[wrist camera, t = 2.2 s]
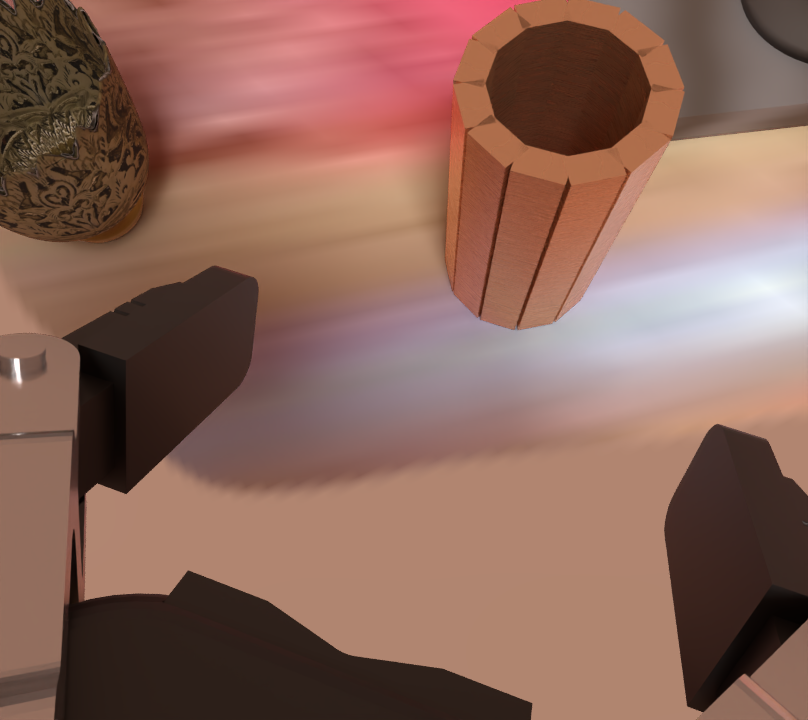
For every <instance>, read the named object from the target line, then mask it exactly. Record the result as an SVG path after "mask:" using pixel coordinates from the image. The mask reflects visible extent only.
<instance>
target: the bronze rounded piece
mask: <svg viewBox="0 0 808 720" xmlns="http://www.w3.org/2000/svg"><path fill="white" fill-rule="evenodd" d="M13 3H14V9H15V10H14V9H13V8H12V7H11V6H10V5H9V4H8V3H6V2H5V1H4V0H0V226H2V227H4V228H6V229H8V230H10V231H13V232H15V233H18V234H21V235H24V236H27V237H29V238H33V239H38V240H44V241H51V242H69V241H78V240H81V241H86V242H92V243H103V242H108V241H112V240H115V239H117V238H119V237H121V236H123V235H124V234H126V233H127V232H128V231H130V230H131V229H132V228H133V227H134V225H135V224H136V223H137V221H138V219H139V218H140V215H141V213H142V210H143V202H144V198H143V190H144V187H145V184H146V181H147V176H148V170H149V152H148V146H147V141H146V137H145V133H144V130H143V127H142V124H141V121H140V118H139V116H138V113H137V111H136V108H135V106H134V104H133V101H132V99H131V97H130V95H129V92H128V90H127V88H126V86H125V84H124V82H123V79H122V77H121V75H120V73H119V71H118V69H117V67H116V65H115V62H114V60H113V58H112V56H111V54H110V52H109V50H108V48H107V46H106V43H105V42H104V41H103V40H102V39H101V38H100V36H99V34H98V32H97V29H96V28H95V26H94V25H93V23H92V21H91V20H90V18H89V16H88V14H87V13H86V11H85V10H84V9H83V8H82V7H79V8H78V9H76V8H75V7H74V5H73V4H72V3H71V2H70V1H69V0H39V1H37V0H13Z"/></svg>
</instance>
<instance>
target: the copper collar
mask: <svg viewBox="0 0 808 720" xmlns="http://www.w3.org/2000/svg"><path fill="white" fill-rule="evenodd" d="M619 12H620V8H619V7H615V6H611V5H606V4H602V3H597V2H593V1H589V0H568V3H567V1H566V0H541V1H535V2H530V3H525V4H519V5H515V6H514V10H513V9H512V8H508V9H507V10H506V11H504V12H503V13H502V14H500V15H499V16H498V17H496V18H495V19H494V20H492V21H491V22H490V23H488V24H487V25H486V26H484V27H483V28H482V29H480V30H479V31H478V32H476V33H475V34H474V35H472V40H471V39H469V41H468V44H467V47H466V49H465V52H464V54H463V57H462V59H461V62H460V65H459V67H458V70H457V72H456V75H455V77H454V80H453V100H452V122H451V144H450V165H449V187H448V209H447V231H446V253H445V262H446V266H447V271H448V275H449V279H450V283H451V288H452V291H454V295H455V296H456V297H457V298H458V299H459V300H460V301H461V302H462V303H463V304H464V305H465V306H466V307H467V308H468V309H469V310H470V311H471V312H472V313H473V314H474V315H475V316H476V317H477V318H478V317H479V316H480V315H481V319H480V320H483V321H486V322H489V323H493V324H496V325H499V326H503V327H506V328H509V329H512V330H514V329H515V326H516V325H517V329H518V330H521V329H527V328H532V327H537V326H542V325H547V324H552V323H553V321H555V322H556V321H557V320H558V319H559V318H560V317H562V316H563V315H564V314H565V313H566V312H567V311H569V310H570V309H571V308H572V307H573V306H574V305H575V304H577V303H578V302H579V301H580V300H581V298H582V297H583V295H584V293H585V291H586V290H587V288H588V286H589V284H590V283H591V281H592V279H593V277H594V275H595V274H596V272H597V270H598V268H599V267H600V265H601V263H602V261H603V259H604V258H605V256H606V254H607V252H608V251H609V249H610V247H611V245H612V243H613V242H614V240H615V238H616V236H617V235H618V233H619V231H620V229H621V228H622V226H623V224H624V222H625V220H626V219H627V217H628V215H629V213H630V212H631V210H632V208H633V206H634V204H635V203H636V201H637V199H638V197H639V196H640V194H641V192H642V190H643V188H644V187H645V185H646V183H647V181H648V180H649V178H650V176H651V174H652V172H653V171H654V169H655V167H656V165H657V164H658V162H659V160H660V158H661V157H662V155H663V153H664V151H665V149H666V148H667V146H668V144H669V142H670V141H671V139H672V137H673V135H674V131H675V127H676V123H677V119H678V116H679V112H680V108H681V104H682V100H683V97H684V93H685V92H684V91H683V89H684V85H683V82H682V80H681V77H680V75H679V72H678V70H677V67H676V64H675V62H674V59H673V57H672V54H671V52H670V49H669V47H668V44H666V45H663V43H664V41H665V40H663V39H662V38H661V37H659V36H658V35H657V34H656V33H654V32H653V31H652V30H650V29H649V28H648V27H647V26H645V25H644V24H643V23H641V22H640V21H639V20H638V19H636V18H635V17H634V16H632V15H631V14H630V13H629V12H627V11H626V10H625V11H623V12H622V13H621V14H620V15H619Z"/></svg>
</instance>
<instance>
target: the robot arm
mask: <svg viewBox="0 0 808 720" xmlns="http://www.w3.org/2000/svg"><path fill="white" fill-rule="evenodd" d="M257 302H258V283H257V280H256V279H255V278H254V277H251V276H247V275H244V274H241V273H238V272H235V271H231V270H228V269H225V268H222V267H219V266H212V267H210V268H208V269H206V270H205V271H203V272H201V273H200V274H198V275H196V276H194V277H193V278H191V279H189V280H187V281H186V282H184V283H181V282H178V283H174V284H169V285H165V286H160V287H156V288H152V289H150V290H148V291H146V292H144V293H143V294H141V295H139V296H137V297H135V298H134V299H132V300H131V303H130V302H126V303H124V304H123V305H121V306H119V307H117V308H115V311H114V312H111V311H110V312H108V313H106V314H105V315H103V316H101V317H99V318H97V319H96V320H94V321H92V322H90V323H88V324H86V325H85V326H83V327H81V328H79V329H77V330H76V331H74V332H72V333H70V334H68V335H67V336H65V337H63V338H57V337H54V336H50V335H44V334H36V333H18V334H8V335H2V336H0V720H531V710H532V703H530V702H528V701H525V700H522V699H520V698H517V697H515V696H512V695H509V694H507V693H504V692H502V691H499V690H496V689H494V688H491V687H489V686H486V685H483V684H481V683H478V682H476V681H473V680H471V679H468V678H465V677H463V676H460V675H458V674H455V673H452V672H450V671H447V670H445V669H440V668H434V667H426V666H419V665H413V664H405V663H398V662H391V661H384V660H377V659H369V658H363V657H356V656H351V655H348V654H345V653H342V652H341V651H339V650H337V649H336V648H334V647H333V646H332V645H330V644H329V643H327V642H326V641H324V640H323V639H321V638H320V637H319V636H317V635H316V634H314V633H313V632H311V631H310V630H309V629H307V628H306V627H304V626H303V625H301V624H300V623H298V622H297V621H296V620H294V619H293V618H291V617H290V616H288V615H287V614H286V613H284V612H283V611H281V610H280V609H278V608H277V607H275V606H274V605H273V604H271V603H269V602H268V601H266V600H263V599H260V598H258V597H255V596H253V595H250V594H248V593H245V592H243V591H240V590H237V589H235V588H232V587H230V586H227V585H225V584H222V583H219V582H217V581H214V580H212V579H209V578H206V577H204V576H201V575H198V574H196V573H193V572H191V571H187V573H186V574H185V575H184V577H183V578H182V579H181V580H180V582H179V583H178V584H177V586H176V587H175V588H174V589H173V591H172V592H171V593H170V595H162V594H126V595H112V596H106V597H100V598H95V599H90V600H86V601H84V592H85V547H86V545H85V543H86V493H87V492H88V491H89V490H90V489H91V488H92V487H94V485H96V484H97V483H98V484H101V485H103V486H106V487H108V488H111V489H114V490H117V491H120V492H122V493H125V494H127V493H128V492H129V491H130V490H131V489H132V488H133V487H134V486H135V485H136V484H137V483H138V482H139V481H140V480H141V479H143V478H144V477H145V476H146V475H147V474H148V473H149V472H150V471H151V470H152V469H153V468H154V467H155V466H156V465H157V464H158V463H159V462H160V461H161V460H162V459H163V458H165V457H166V456H167V455H168V454H169V453H170V452H171V451H172V450H173V449H174V448H175V447H176V446H177V445H178V444H179V443H180V442H181V441H182V440H183V439H184V438H185V437H186V436H187V435H189V434H190V433H191V432H192V431H193V430H194V429H195V428H196V427H197V426H198V425H199V424H200V423H201V422H202V421H203V420H204V419H205V418H206V417H207V416H208V415H209V414H210V413H212V412H213V411H214V410H215V409H216V408H217V407H218V406H219V405H220V404H221V403H222V402H223V401H224V400H225V399H226V398H227V397H228V396H229V395H230V394H231V393H232V392H233V391H234V390H236V389H237V388H238V386H239V385H240V384H241V382H242V381H243V379H244V377H245V375H246V373H247V371H248V368H249V365H250V361H251V357H252V348H253V339H254V330H255V320H256V311H257ZM664 531H665V541H666V548H667V556H668V563H669V571H670V579H671V587H672V594H673V601H674V610H675V617H676V625H677V632H678V639H679V647H680V654H681V663H682V670H683V678H684V685H685V693H686V701H687V706H688V707H691V708H693V709H696V710H699V711H701V712H703V713H702V714H701V715H700V716H699V717H698V718H697V719H696V720H808V496H807V494H806V493H805V492H804V491H803V490H802V489H801V488H800V487H799V486H798V485H797V484H796V483H795V481H794V480H793V479H790V478H787V477H784V476H783V475H782V473H781V470H780V468H779V465H778V463H777V461H776V458H775V456H774V453H773V451H772V449H771V446H770V444H769V442H768V441H767V440H766V439H764V438H761V437H758V436H755V435H751V434H748V433H745V432H742V431H739V430H736V429H732V428H729V427H726V426H723V425H720V424H716V425H714V426H713V427H712V428H711V429H710V430H709V431H708V433H707V434H706V436H705V437H704V439H703V441H702V443H701V445H700V447H699V449H698V450H697V452H696V454H695V456H694V458H693V460H692V462H691V464H690V465H689V467H688V469H687V471H686V473H685V475H684V476H683V478H682V480H681V482H680V484H679V486H678V488H677V489H676V492H675V493H674V495H673V497H672V500H671V502H670V504H669V507H668V511H667V515H666V520H665V528H664Z"/></svg>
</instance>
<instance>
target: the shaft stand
mask: <svg viewBox="0 0 808 720" xmlns="http://www.w3.org/2000/svg"><path fill="white" fill-rule="evenodd" d="M589 1H593V2H597V3H602V4H606V5H611V6H615V7H619V8H620V12H619V15H620V14H621V13H622V12H623V11H625V10H626V11H627V12H629V13H630V14H631V15H632V16H634V17H635V18H636V19H638V20H639V21H640V22H641V23H643V24H644V25H645V26H647V27H648V28H649V29H650V30H652V31H653V32H654V33H656V34H657V35H658V36H659V37H661V38H662V39H663V40H665V41H664V43H663V45H666V44H668V47H669V49H670V52H671V54H672V57H673V59H674V62H675V64H676V67H677V70H678V72H679V75H680V77H681V80H682V82H683V85H684V89H683V91H684V92H685V93H684V97H683V100H682V104H681V108H680V112H679V116H678V119H677V123H676V127H675V131H674V135H673V137H672V139H671V141H672V140H681V139H690V138H699V137H708V136H717V135H726V134H735V133H743V132H752V131H761V130H770V129H779V128H788V127H797V126H806V125H808V0H589Z"/></svg>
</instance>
